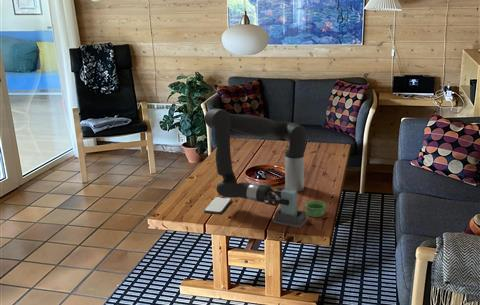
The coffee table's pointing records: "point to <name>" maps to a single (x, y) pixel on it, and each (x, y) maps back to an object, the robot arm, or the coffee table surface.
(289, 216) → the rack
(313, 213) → the ramekin
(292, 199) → the tall teal prism
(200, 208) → the coffee table surface
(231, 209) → the coffee table surface
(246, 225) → the coffee table surface
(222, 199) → the phone case
